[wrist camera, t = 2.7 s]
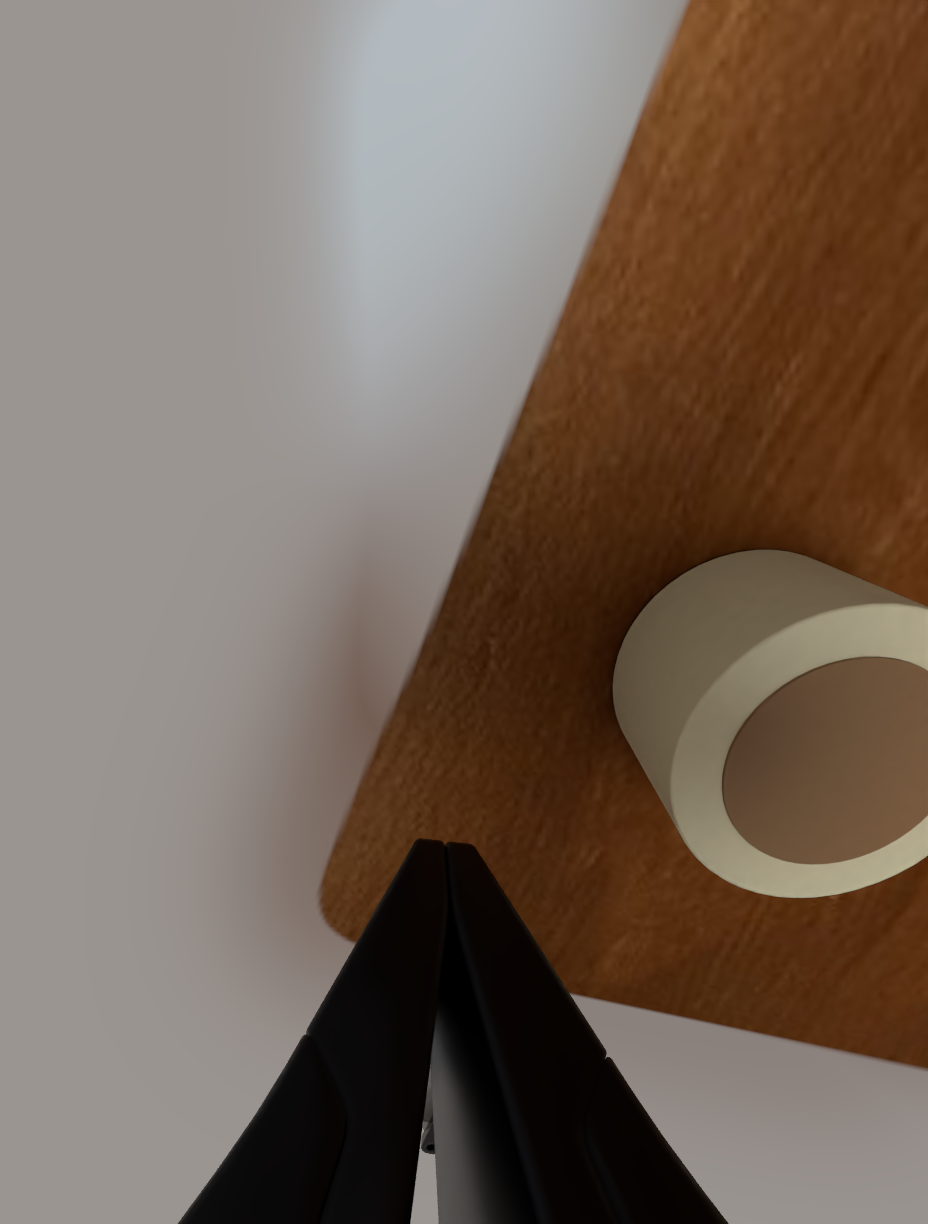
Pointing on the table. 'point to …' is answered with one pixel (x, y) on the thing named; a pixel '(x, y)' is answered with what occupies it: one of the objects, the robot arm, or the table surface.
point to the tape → (783, 721)
